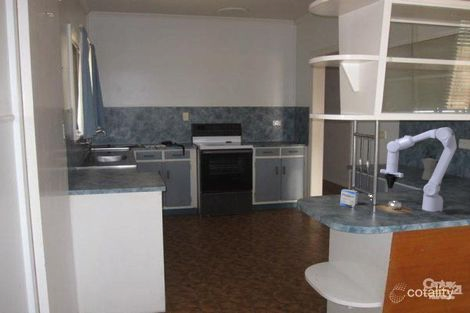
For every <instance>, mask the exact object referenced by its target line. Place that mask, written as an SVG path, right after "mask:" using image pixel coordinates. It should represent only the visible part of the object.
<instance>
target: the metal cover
mask: <svg viewBox="0 0 470 313" xmlns="http://www.w3.org/2000/svg"><path fill="white" fill-rule="evenodd" d="M388 204H389V205H388V208H389V209H392V210H401V206H402V202H399V201H398V200H394V199H393V200H392V201H391V200H390V201H388Z"/></svg>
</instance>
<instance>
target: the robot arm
mask: <svg viewBox="0 0 470 313" xmlns="http://www.w3.org/2000/svg"><path fill="white" fill-rule="evenodd" d="M429 138H430V139H431V138H432V139H437V140H439V141H440V142H441V144H442V145H443V147H444V148H443V151H442V153H441V155H440V157H439V159H438V160H439V162H437V163H436V167H435V169H434V173H433V175H432V177H431V179H430V180H428V182H427V183H426V184H425V185H424V186H423V194H422V195H423V198H422V206H421V207H422V208H421V209H422V210H423V211H426V212H432V213H433V212H434V213H435V212H441V213H442V212H443V206H444V200H443V199H444V198H443V197H442V196H441V195H439V192H440V191H441V184H442V181H443V178H444V176H445V174H446V171H447V169H448V167H449V165H450V164H451V161H452V158H453V156H454V154H455V152H456V150H457V147H458V146H457V141H456V134H455V132H454V131H453V129H451V127H447V126H446V127H440V128H435V129H430V130H427V131H425V132H422V133H419V134H417V135H414V136H412V135H407V134H406V135H404V137H400V138H397V139H395V140H392V141H389V142H388V143H387V144H386V149H387V155H386V156H387V157H386V169H384V168H383V169H382V168H381V169H380V173H381V174H384V178H385V180H386V186H387V188H388V189H393V188H394V185H395V183H396V181H397V180H398V178H403V177H404V173H401V172H398V169H399V168H398V167H399V157H400V155H399V153H400V150H405V149H408V148H410V147H413V146H414V145H415V144H416V143H417V142H421V141H424V140H427V139H429Z"/></svg>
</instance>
